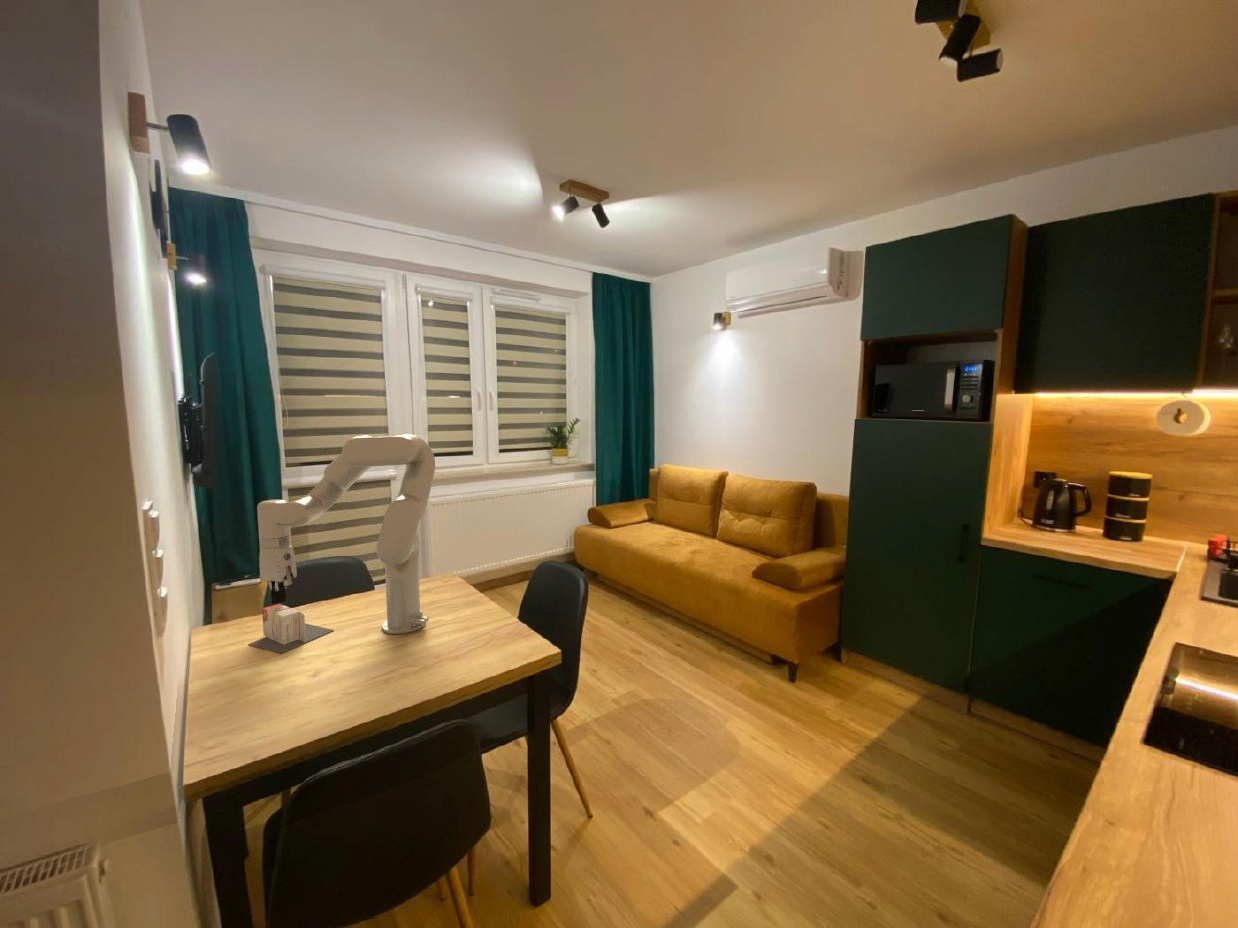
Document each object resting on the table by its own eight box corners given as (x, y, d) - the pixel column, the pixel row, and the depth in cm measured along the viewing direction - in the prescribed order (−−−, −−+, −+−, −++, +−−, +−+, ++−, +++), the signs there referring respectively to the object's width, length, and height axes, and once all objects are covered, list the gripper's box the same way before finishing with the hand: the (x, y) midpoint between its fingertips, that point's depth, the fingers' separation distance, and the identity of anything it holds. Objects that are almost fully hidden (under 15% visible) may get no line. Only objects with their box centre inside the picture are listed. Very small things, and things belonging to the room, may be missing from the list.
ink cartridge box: (260, 608, 146) (287, 618, 139) (279, 603, 151) (305, 612, 143) (262, 636, 147) (288, 647, 140) (280, 630, 151) (307, 641, 144)
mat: (333, 630, 152) (333, 629, 152) (281, 653, 137) (281, 652, 137) (302, 623, 157) (302, 622, 157) (248, 644, 142) (248, 643, 142)
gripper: (305, 541, 147) (308, 601, 148) (271, 536, 152) (275, 594, 154) (279, 547, 140) (283, 610, 142) (245, 542, 145) (249, 603, 147)
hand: (279, 602), depth 148 cm, fingers closed
